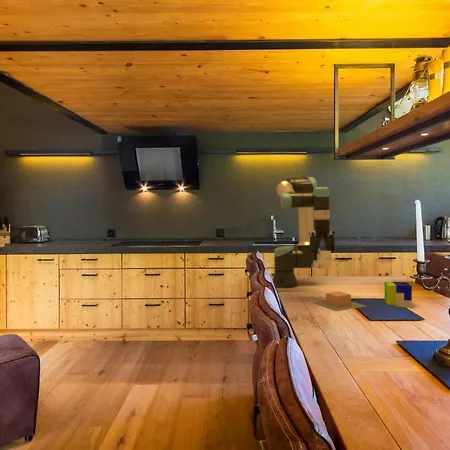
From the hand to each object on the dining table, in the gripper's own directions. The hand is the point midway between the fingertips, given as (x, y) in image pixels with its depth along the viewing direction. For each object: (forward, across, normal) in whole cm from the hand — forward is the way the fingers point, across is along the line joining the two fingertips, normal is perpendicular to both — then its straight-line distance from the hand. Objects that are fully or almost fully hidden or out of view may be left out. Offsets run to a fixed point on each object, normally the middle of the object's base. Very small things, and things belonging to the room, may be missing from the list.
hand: (322, 266), depth 198 cm
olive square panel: (+18, +2, -9) cm, 20 cm away
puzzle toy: (+18, +28, -20) cm, 39 cm away
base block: (+17, +2, -9) cm, 19 cm away
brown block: (0, 0, 0) cm, 0 cm away
